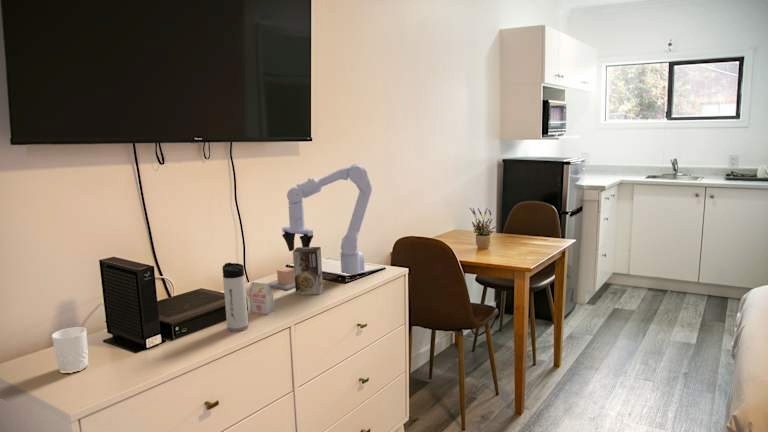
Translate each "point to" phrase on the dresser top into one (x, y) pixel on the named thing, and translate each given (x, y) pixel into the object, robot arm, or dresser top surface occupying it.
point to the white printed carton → (261, 298)
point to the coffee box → (308, 270)
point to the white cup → (71, 348)
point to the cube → (286, 276)
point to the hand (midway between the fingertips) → (298, 251)
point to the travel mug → (235, 296)
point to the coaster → (281, 285)
